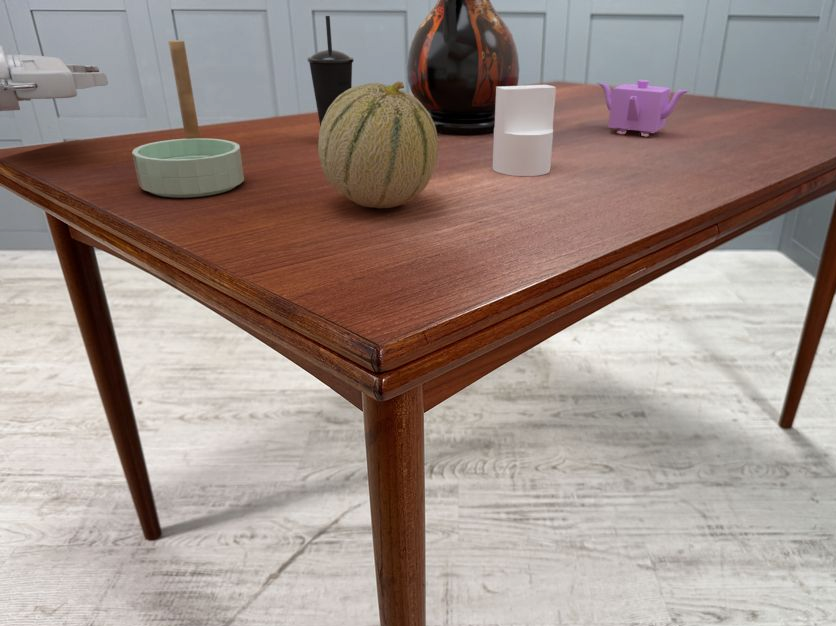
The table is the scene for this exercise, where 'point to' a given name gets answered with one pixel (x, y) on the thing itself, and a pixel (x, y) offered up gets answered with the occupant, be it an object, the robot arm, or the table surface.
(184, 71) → the stirring stick
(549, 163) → the base with upright slab
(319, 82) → the drinking cup
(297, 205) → the table surface
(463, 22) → the amphora vase
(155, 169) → the bowl
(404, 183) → the cantaloupe
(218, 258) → the table surface
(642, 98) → the teapot
